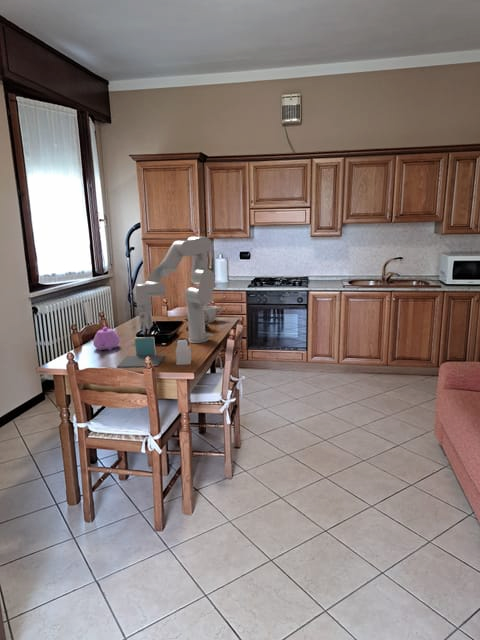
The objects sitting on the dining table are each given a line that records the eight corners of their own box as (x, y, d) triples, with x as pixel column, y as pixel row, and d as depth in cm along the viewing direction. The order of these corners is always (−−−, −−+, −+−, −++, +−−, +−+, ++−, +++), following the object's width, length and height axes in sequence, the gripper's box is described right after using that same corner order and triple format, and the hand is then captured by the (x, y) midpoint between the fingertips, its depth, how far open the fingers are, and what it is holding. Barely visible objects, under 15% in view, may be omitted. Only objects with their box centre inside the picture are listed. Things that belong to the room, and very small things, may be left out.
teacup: (221, 323, 300) (221, 308, 297) (199, 323, 300) (199, 309, 298) (222, 319, 311) (222, 305, 309) (201, 319, 312) (200, 305, 309)
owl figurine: (180, 331, 283) (179, 304, 279) (190, 327, 293) (188, 301, 290) (205, 333, 275) (203, 306, 272) (214, 328, 286) (213, 302, 282)
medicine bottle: (177, 360, 223) (175, 337, 221) (191, 359, 224) (189, 337, 221) (176, 365, 216) (174, 341, 214) (190, 364, 217) (189, 340, 214)
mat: (164, 355, 232) (164, 354, 232) (157, 366, 215) (157, 365, 215) (126, 356, 233) (126, 355, 232) (117, 367, 216) (117, 366, 216)
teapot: (111, 354, 238) (109, 332, 236) (86, 354, 240) (83, 332, 238) (125, 343, 258) (123, 323, 255) (102, 343, 260) (99, 323, 257)
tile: (155, 355, 234) (154, 336, 232) (155, 356, 233) (153, 337, 230) (137, 355, 234) (135, 337, 232) (136, 356, 233) (134, 338, 231)
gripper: (148, 309, 226) (150, 344, 230) (154, 304, 240) (157, 336, 244) (133, 310, 226) (136, 344, 230) (140, 304, 241) (143, 337, 245)
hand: (147, 340), depth 237 cm, fingers closed
